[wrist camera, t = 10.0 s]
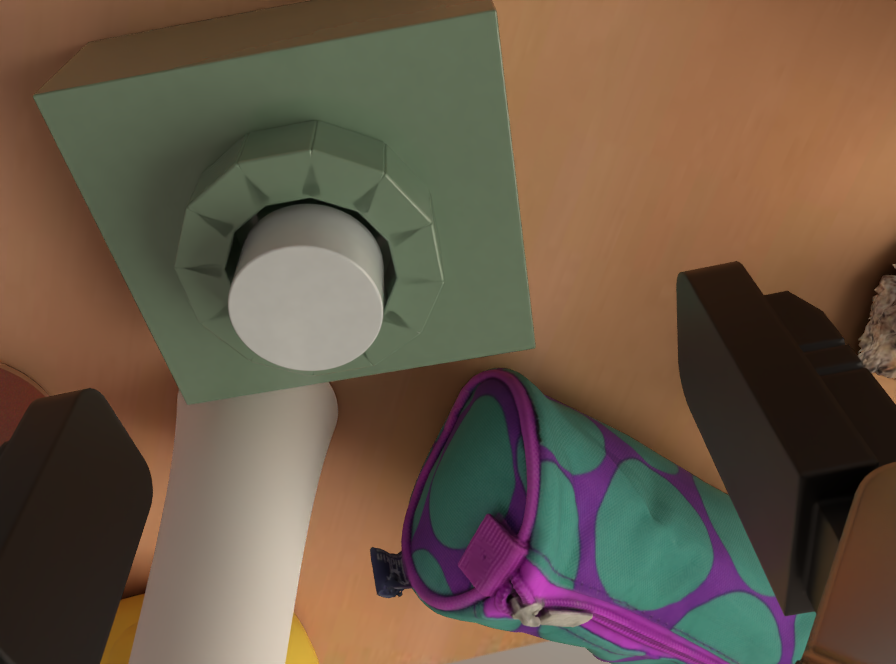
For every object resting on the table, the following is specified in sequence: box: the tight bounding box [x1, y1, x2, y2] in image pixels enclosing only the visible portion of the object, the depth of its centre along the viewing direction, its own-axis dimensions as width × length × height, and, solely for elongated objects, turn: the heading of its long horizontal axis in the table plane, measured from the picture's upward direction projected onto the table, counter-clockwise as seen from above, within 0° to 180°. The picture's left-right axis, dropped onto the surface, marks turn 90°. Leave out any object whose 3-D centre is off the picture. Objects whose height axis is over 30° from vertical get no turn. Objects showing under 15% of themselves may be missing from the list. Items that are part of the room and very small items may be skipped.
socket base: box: [33, 0, 536, 405], centre depth 22 cm, size 11×10×6 cm
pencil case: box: [370, 368, 816, 664], centre depth 30 cm, size 21×9×10 cm, turn 53°
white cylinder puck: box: [228, 204, 384, 371], centre depth 19 cm, size 4×4×2 cm
